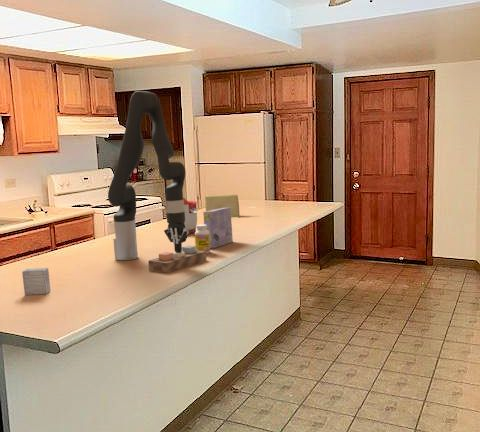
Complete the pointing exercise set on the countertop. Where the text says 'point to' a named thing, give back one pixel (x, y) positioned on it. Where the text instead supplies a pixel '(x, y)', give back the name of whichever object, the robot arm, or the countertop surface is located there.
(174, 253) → the cream cube
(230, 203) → the cheese
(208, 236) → the supplement bottle
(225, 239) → the cake pan box
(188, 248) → the slate key
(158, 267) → the key panel
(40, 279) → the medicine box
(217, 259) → the countertop surface
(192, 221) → the citrus juicer
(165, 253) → the pink cube
